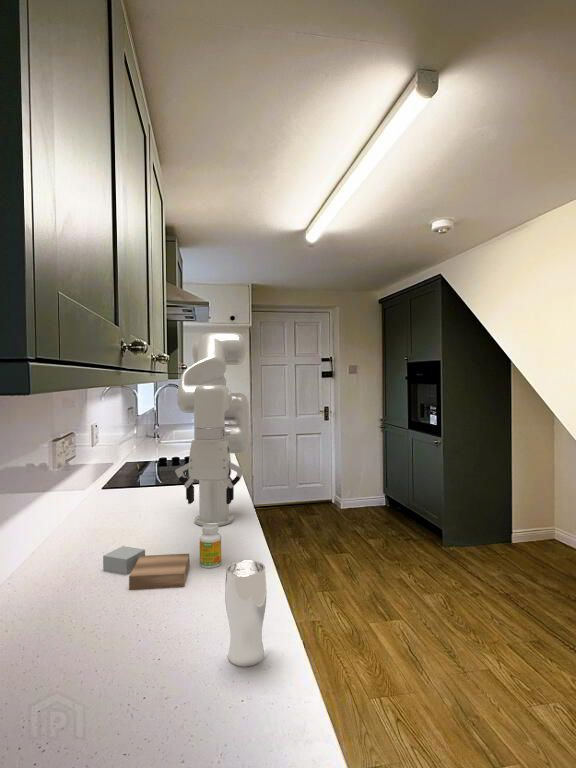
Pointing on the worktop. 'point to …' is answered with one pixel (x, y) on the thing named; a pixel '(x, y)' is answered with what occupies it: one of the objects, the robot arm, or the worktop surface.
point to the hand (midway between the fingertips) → (210, 502)
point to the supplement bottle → (210, 546)
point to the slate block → (122, 560)
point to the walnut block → (159, 571)
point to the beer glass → (245, 611)
